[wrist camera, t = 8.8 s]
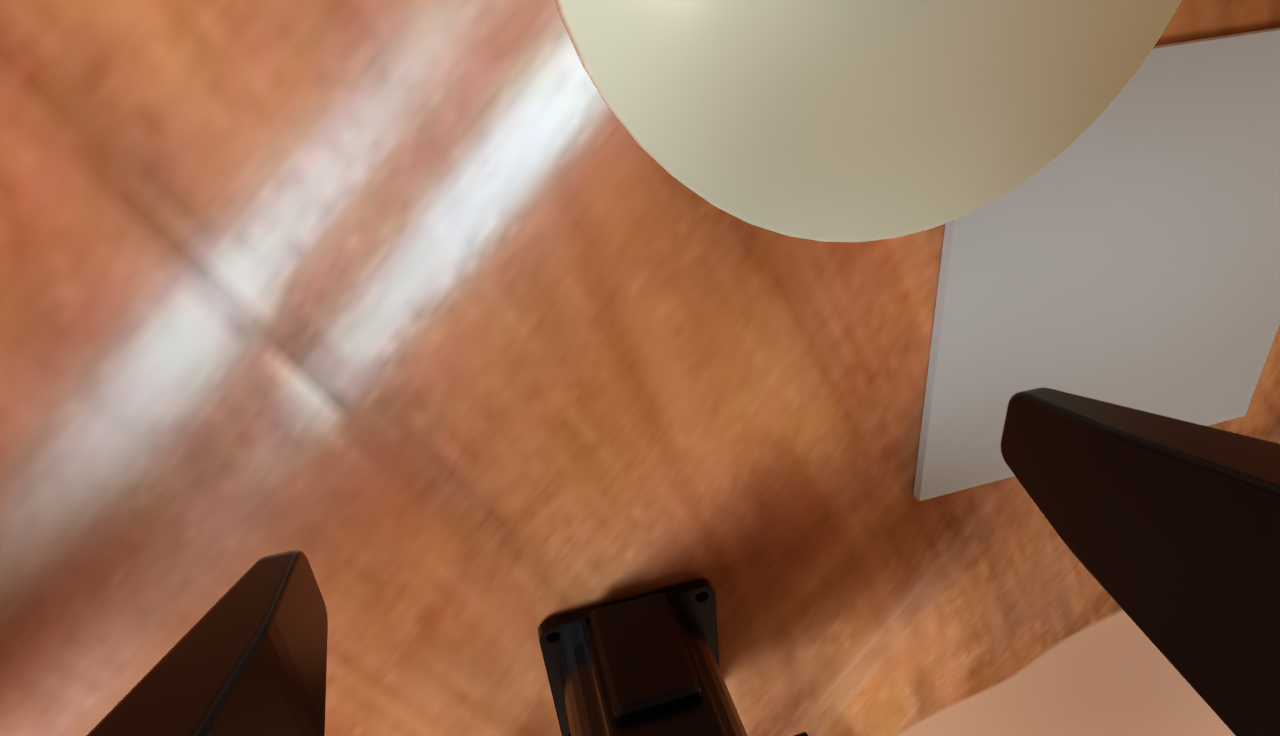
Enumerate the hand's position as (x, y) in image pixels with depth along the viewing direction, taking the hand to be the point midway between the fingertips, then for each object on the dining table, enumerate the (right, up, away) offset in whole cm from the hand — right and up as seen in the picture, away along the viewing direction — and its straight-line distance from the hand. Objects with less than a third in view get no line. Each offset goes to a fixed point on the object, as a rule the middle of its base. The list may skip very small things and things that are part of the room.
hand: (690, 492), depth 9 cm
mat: (+16, +5, +16) cm, 23 cm away
